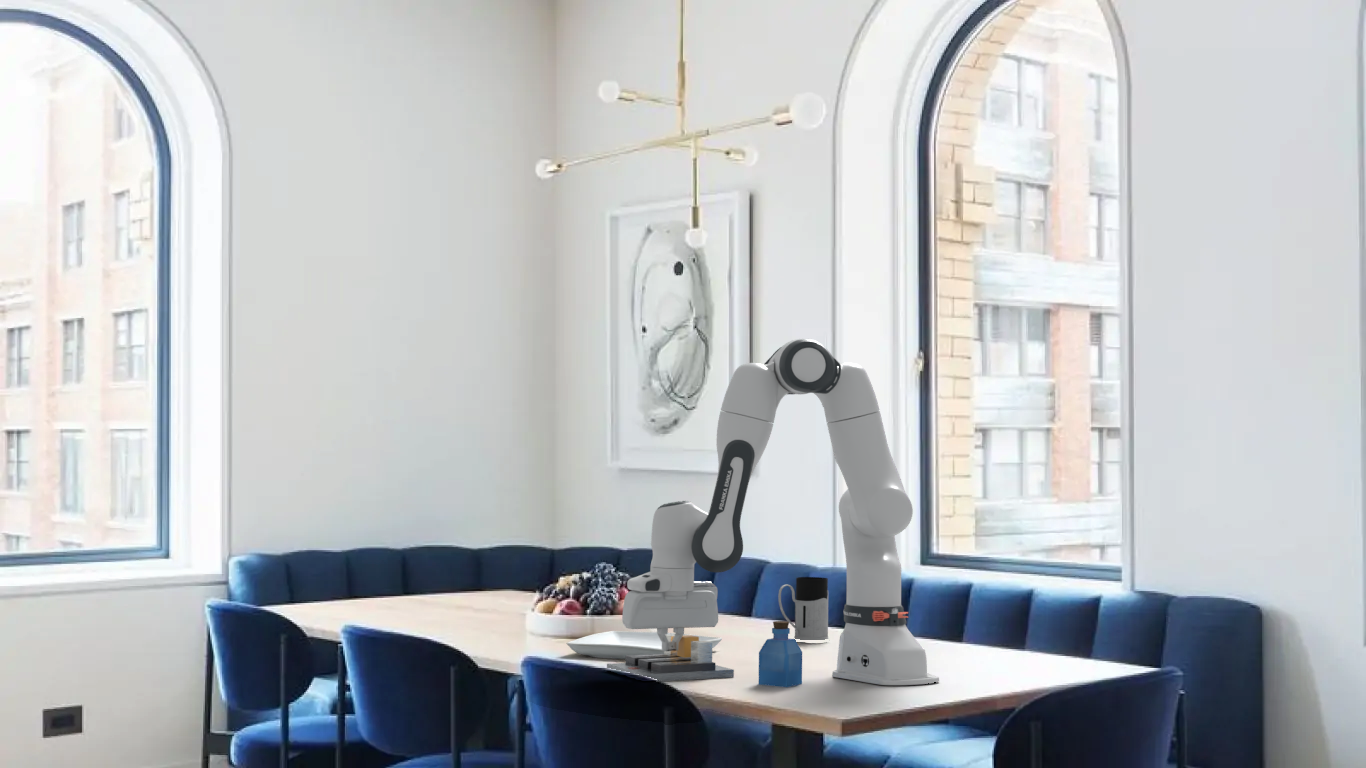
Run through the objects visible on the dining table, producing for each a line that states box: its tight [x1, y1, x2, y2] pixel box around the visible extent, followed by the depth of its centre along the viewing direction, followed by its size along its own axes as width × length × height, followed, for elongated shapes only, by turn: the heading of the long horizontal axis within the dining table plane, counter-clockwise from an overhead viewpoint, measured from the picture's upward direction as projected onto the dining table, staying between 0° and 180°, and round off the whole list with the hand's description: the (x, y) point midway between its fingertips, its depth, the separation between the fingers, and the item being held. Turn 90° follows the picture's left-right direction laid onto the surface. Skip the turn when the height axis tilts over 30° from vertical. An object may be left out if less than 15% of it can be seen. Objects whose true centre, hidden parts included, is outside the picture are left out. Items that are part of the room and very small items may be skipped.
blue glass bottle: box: [758, 620, 803, 688], centre depth 325 cm, size 6×6×12 cm
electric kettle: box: [777, 576, 829, 640], centre depth 397 cm, size 9×14×15 cm, turn 124°
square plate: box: [566, 630, 723, 660], centre depth 369 cm, size 27×27×4 cm
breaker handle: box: [677, 634, 699, 658], centre depth 338 cm, size 3×3×4 cm
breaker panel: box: [606, 634, 735, 682], centre depth 336 cm, size 17×20×7 cm
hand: (670, 650), depth 336 cm, fingers closed
